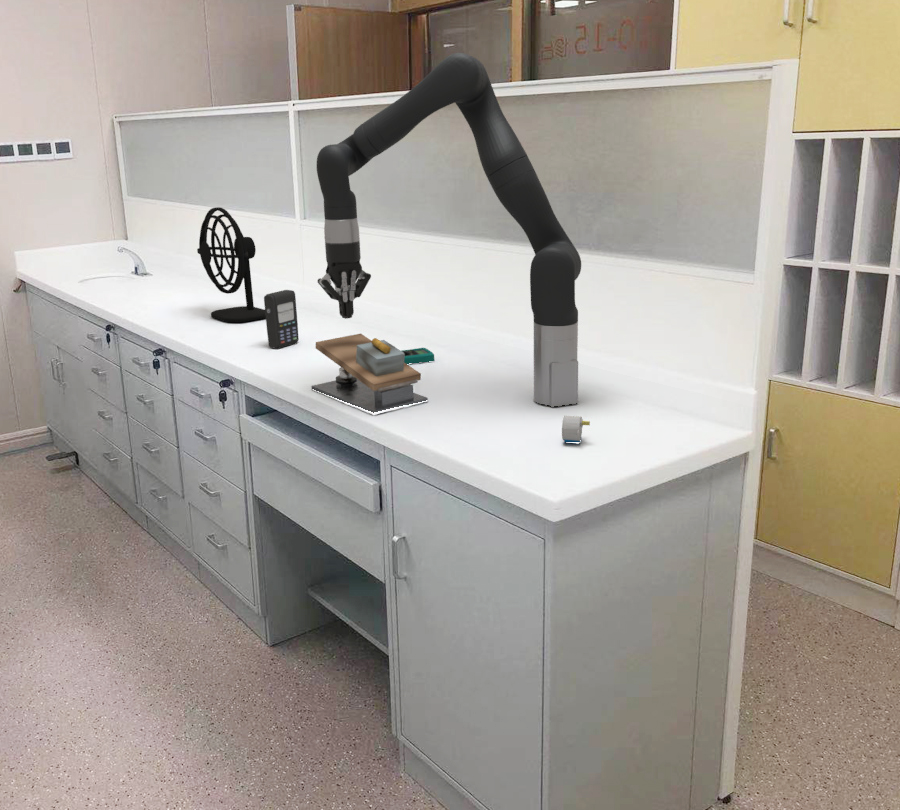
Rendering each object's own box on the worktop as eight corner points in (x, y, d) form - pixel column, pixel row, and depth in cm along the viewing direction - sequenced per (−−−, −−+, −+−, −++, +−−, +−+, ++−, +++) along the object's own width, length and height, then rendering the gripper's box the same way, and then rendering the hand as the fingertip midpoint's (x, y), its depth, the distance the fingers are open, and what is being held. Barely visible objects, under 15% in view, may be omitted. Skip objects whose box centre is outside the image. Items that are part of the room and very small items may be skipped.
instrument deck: (421, 382, 192) (424, 350, 188) (374, 393, 185) (376, 360, 181) (360, 340, 208) (362, 311, 205) (315, 349, 201) (316, 319, 198)
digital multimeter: (371, 363, 228) (370, 352, 227) (426, 356, 232) (426, 345, 231) (379, 370, 221) (378, 359, 220) (435, 363, 226) (435, 352, 225)
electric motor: (586, 449, 162) (587, 423, 161) (560, 447, 164) (560, 422, 162) (591, 436, 169) (592, 411, 167) (566, 435, 170) (566, 410, 169)
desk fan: (194, 315, 291) (181, 206, 281) (243, 307, 302) (232, 202, 291) (232, 328, 271) (219, 211, 261) (282, 319, 282) (272, 206, 271)
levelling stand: (427, 402, 193) (426, 381, 192) (373, 416, 185) (372, 394, 184) (363, 378, 213) (362, 359, 211) (311, 390, 205) (310, 370, 203)
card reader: (277, 350, 243) (272, 295, 238) (267, 348, 245) (261, 294, 240) (300, 343, 250) (296, 290, 245) (290, 341, 252) (285, 288, 247)
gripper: (324, 244, 187) (329, 324, 192) (377, 238, 195) (380, 315, 200) (306, 241, 193) (312, 319, 198) (358, 235, 200) (362, 311, 206)
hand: (347, 317), depth 199 cm, fingers closed
